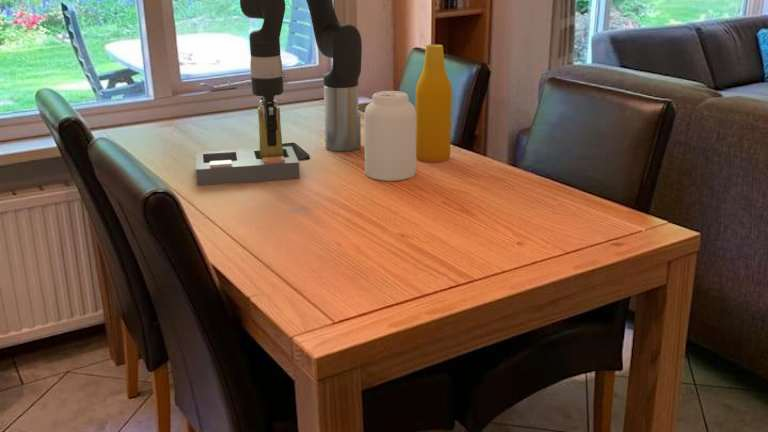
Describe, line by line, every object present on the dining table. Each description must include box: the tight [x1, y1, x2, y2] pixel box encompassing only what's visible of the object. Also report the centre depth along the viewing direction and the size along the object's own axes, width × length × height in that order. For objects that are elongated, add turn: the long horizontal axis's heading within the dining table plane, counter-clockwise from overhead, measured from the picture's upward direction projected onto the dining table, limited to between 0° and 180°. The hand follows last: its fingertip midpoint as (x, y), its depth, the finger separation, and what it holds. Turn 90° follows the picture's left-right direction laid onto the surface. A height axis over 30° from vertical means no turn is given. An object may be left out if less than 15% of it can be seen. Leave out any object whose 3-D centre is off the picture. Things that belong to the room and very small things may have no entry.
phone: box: [282, 142, 311, 161], centre depth 205 cm, size 8×1×15 cm
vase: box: [257, 106, 283, 159], centre depth 189 cm, size 6×6×14 cm
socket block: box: [195, 146, 301, 187], centre depth 188 cm, size 24×15×5 cm, turn 103°
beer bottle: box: [415, 44, 453, 164], centre depth 195 cm, size 9×9×29 cm
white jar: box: [363, 90, 417, 182], centre depth 184 cm, size 12×12×20 cm
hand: (270, 142), depth 189 cm, fingers closed on vase, 5 cm apart
